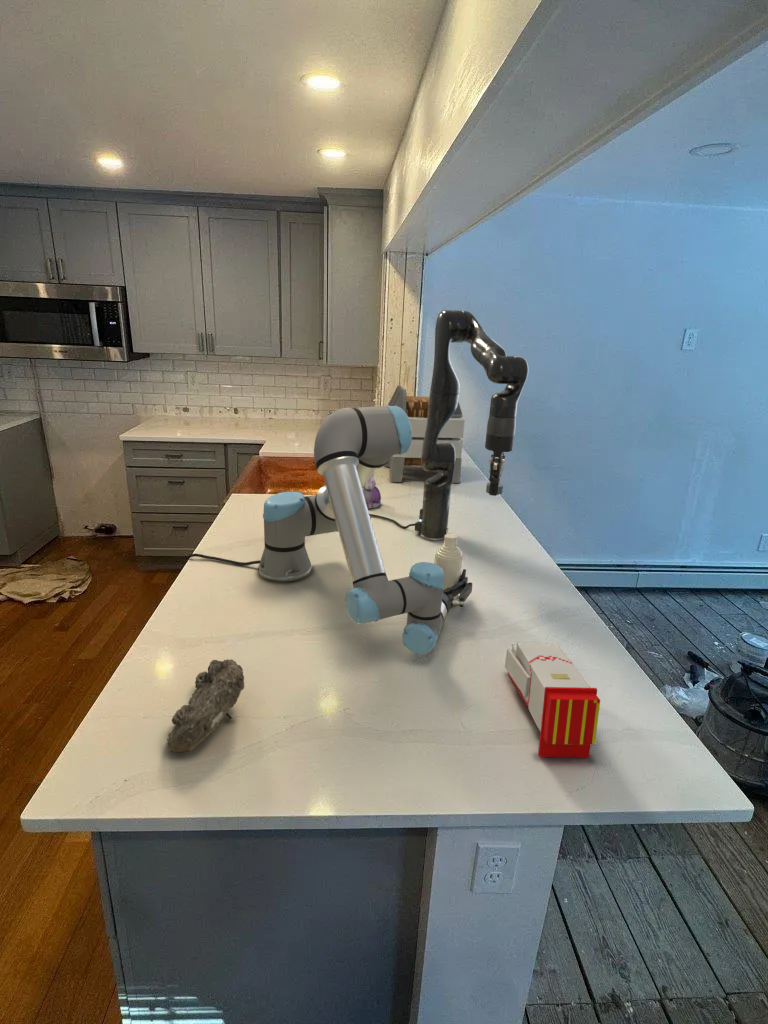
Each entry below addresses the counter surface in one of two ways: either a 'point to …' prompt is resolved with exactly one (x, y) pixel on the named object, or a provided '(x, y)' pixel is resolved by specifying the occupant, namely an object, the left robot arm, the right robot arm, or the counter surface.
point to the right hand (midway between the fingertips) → (493, 492)
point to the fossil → (206, 705)
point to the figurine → (371, 493)
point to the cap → (500, 488)
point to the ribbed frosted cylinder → (449, 561)
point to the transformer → (418, 421)
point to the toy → (555, 698)
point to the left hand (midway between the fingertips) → (449, 571)
